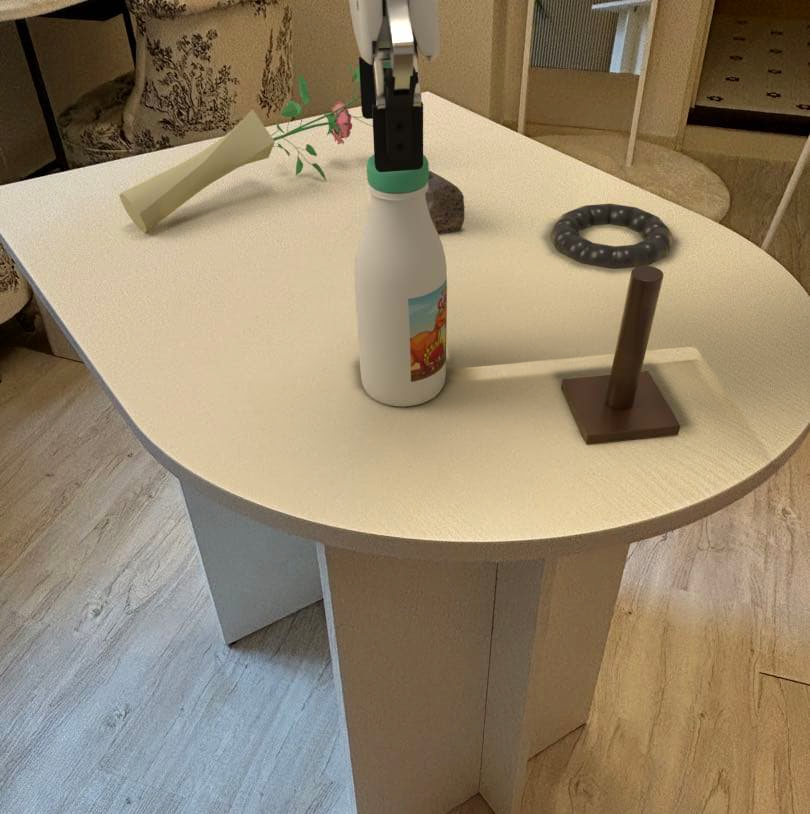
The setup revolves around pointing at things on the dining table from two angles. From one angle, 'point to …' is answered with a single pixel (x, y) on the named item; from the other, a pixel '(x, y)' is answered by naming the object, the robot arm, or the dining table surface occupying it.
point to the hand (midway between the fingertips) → (390, 141)
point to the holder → (625, 377)
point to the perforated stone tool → (444, 204)
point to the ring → (606, 256)
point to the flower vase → (226, 160)
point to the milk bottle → (401, 291)
